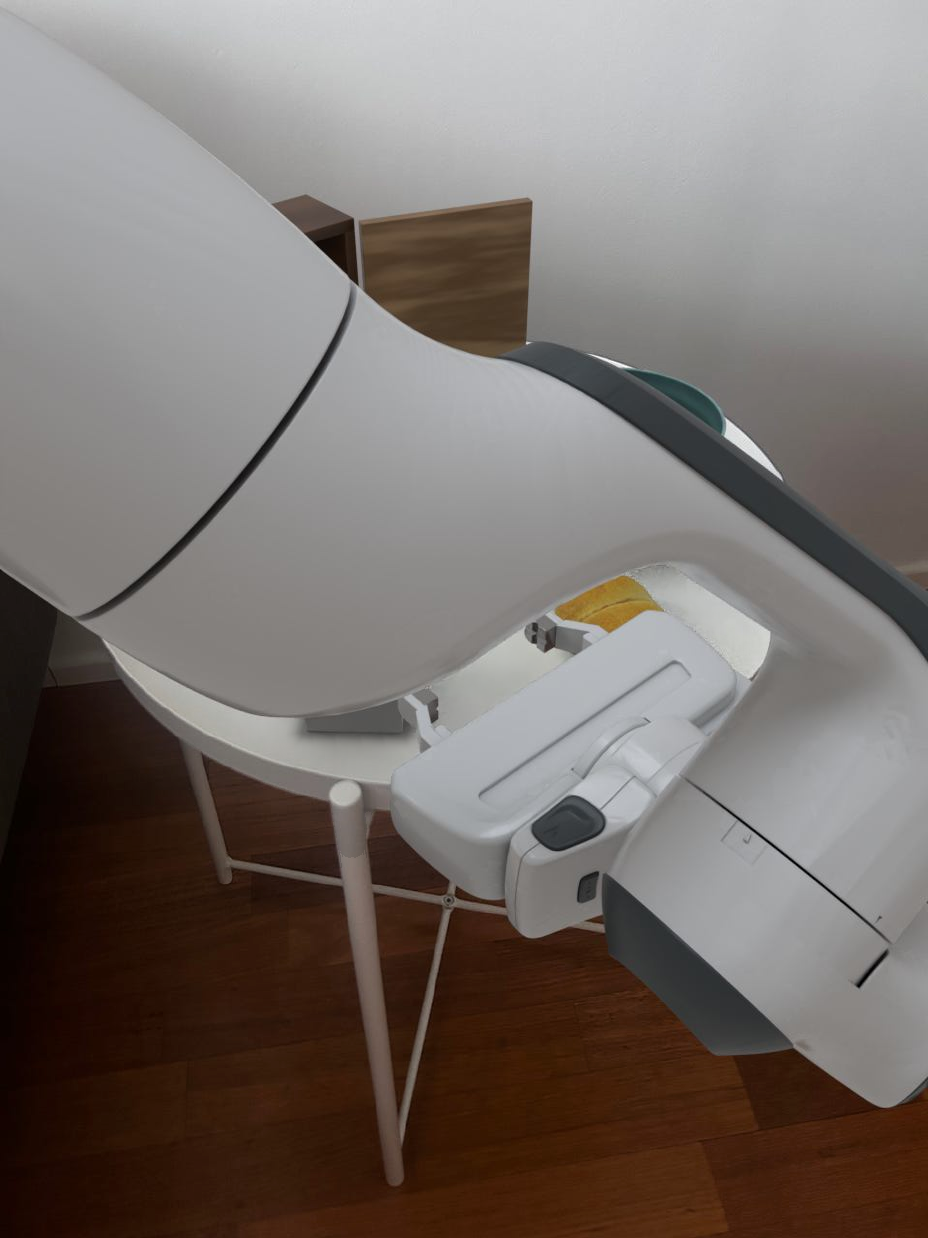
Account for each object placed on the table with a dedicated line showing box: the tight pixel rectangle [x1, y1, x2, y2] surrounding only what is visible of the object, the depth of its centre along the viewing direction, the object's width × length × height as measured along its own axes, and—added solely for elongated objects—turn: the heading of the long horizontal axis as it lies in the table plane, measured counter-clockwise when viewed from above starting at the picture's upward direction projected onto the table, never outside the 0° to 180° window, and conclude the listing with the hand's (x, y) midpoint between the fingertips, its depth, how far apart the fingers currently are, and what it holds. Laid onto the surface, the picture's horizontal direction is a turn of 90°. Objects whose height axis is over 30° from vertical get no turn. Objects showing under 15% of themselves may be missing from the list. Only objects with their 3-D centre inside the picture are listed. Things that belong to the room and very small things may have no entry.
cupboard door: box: [357, 197, 534, 358], centre depth 93 cm, size 6×15×23 cm, turn 110°
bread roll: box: [554, 574, 665, 633], centre depth 78 cm, size 8×9×4 cm
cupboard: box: [270, 194, 360, 287], centre depth 88 cm, size 7×15×23 cm, turn 130°
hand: (473, 657), depth 58 cm, fingers open, 8 cm apart
